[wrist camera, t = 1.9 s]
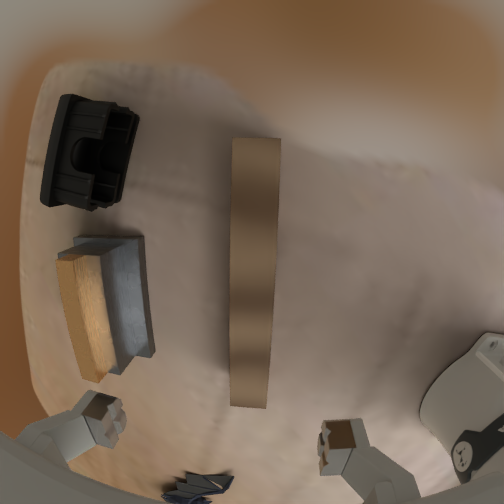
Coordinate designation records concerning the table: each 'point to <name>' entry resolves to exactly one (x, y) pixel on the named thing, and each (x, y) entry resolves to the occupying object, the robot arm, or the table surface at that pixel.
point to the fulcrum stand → (106, 302)
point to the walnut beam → (252, 266)
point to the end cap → (88, 153)
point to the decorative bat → (197, 489)
